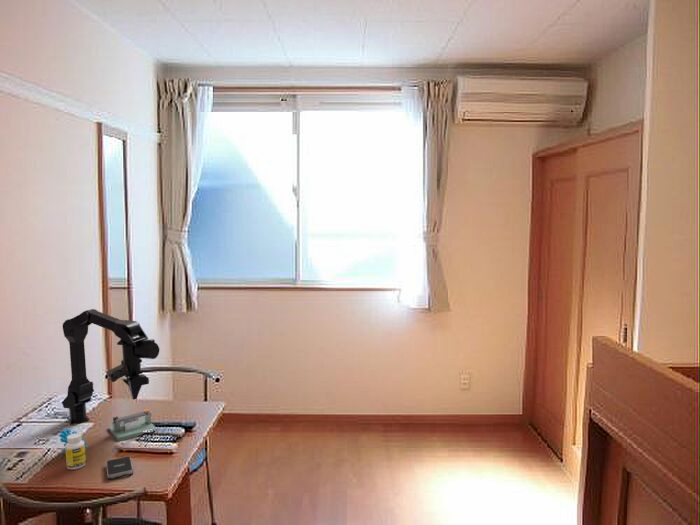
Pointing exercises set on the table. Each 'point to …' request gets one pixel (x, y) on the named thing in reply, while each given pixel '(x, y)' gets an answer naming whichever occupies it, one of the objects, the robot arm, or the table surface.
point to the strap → (134, 415)
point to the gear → (64, 437)
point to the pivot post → (116, 424)
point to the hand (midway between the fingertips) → (134, 399)
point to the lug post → (148, 418)
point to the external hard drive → (119, 468)
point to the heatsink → (131, 424)
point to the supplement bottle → (75, 451)
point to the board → (132, 433)
